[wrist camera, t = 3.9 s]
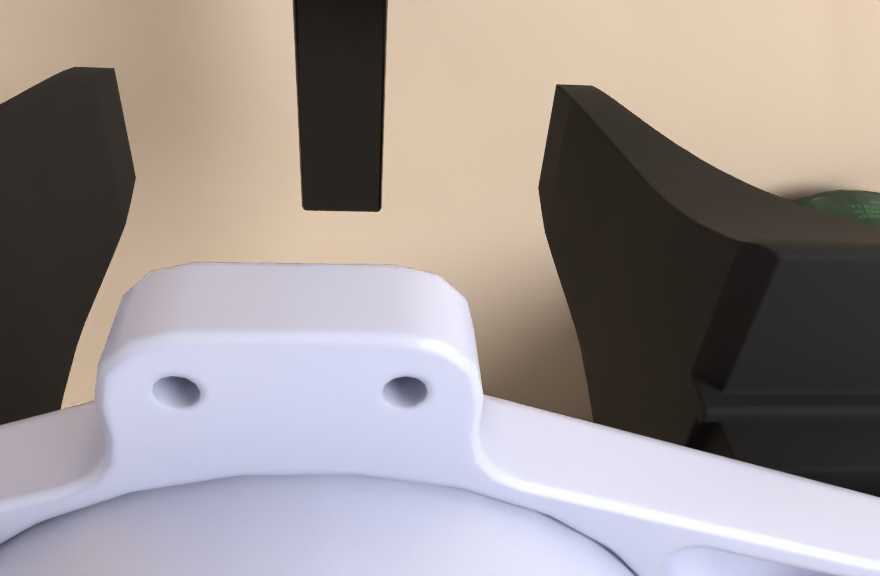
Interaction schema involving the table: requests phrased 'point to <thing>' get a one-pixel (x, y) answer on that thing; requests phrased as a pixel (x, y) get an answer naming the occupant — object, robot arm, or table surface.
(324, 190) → the steel pot
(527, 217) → the table surface
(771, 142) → the table surface
